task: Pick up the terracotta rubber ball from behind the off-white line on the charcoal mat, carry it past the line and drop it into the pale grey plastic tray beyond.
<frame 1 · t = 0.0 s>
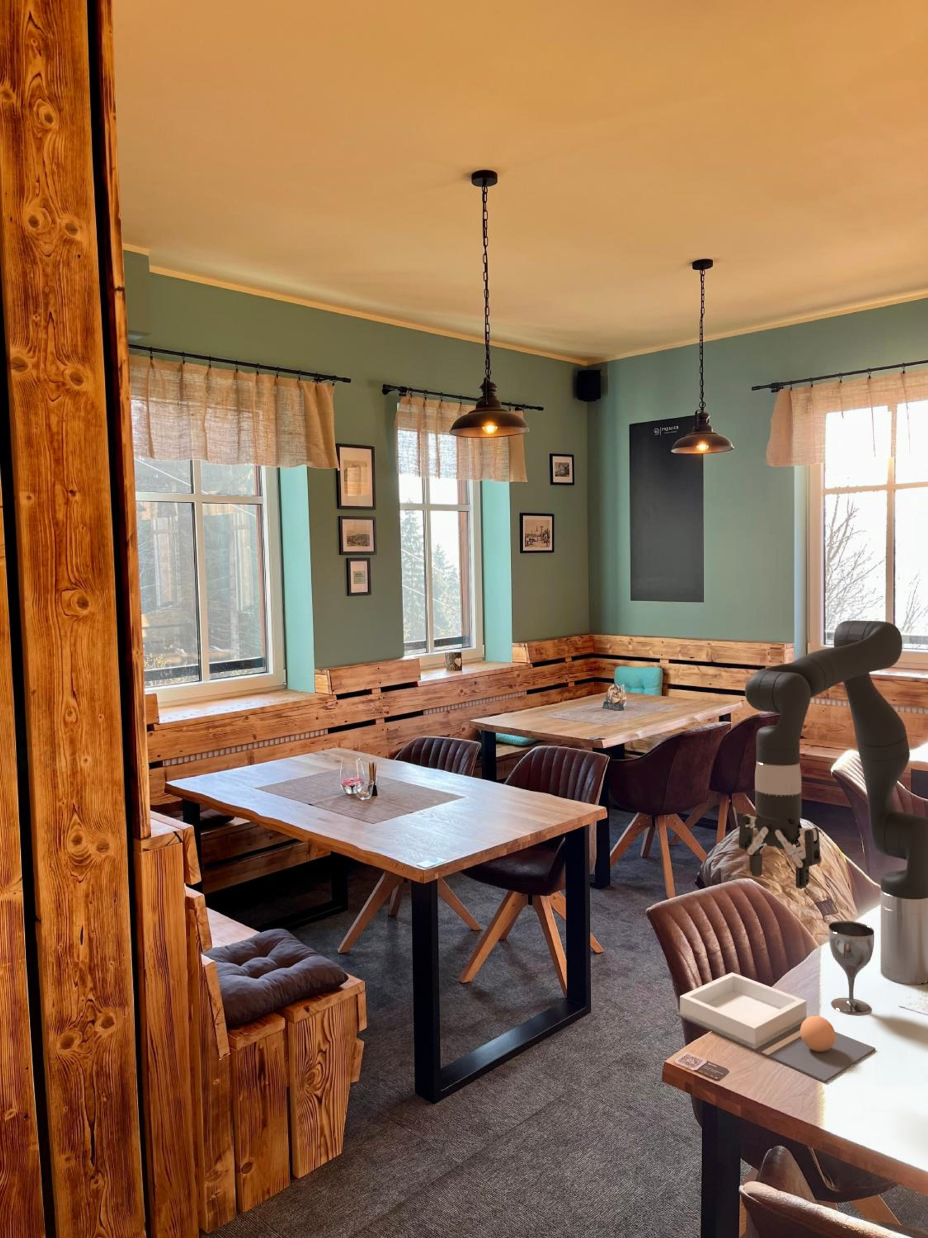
hand: (778, 881, 156), 29 cm above the table, fingers open, 8 cm apart
tray: (742, 1017, 168), resting on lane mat
ball: (817, 1033, 156), point 3 cm above the table, touching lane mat
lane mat: (771, 1032, 163), on the table
wine glass: (851, 1007, 172), on the table
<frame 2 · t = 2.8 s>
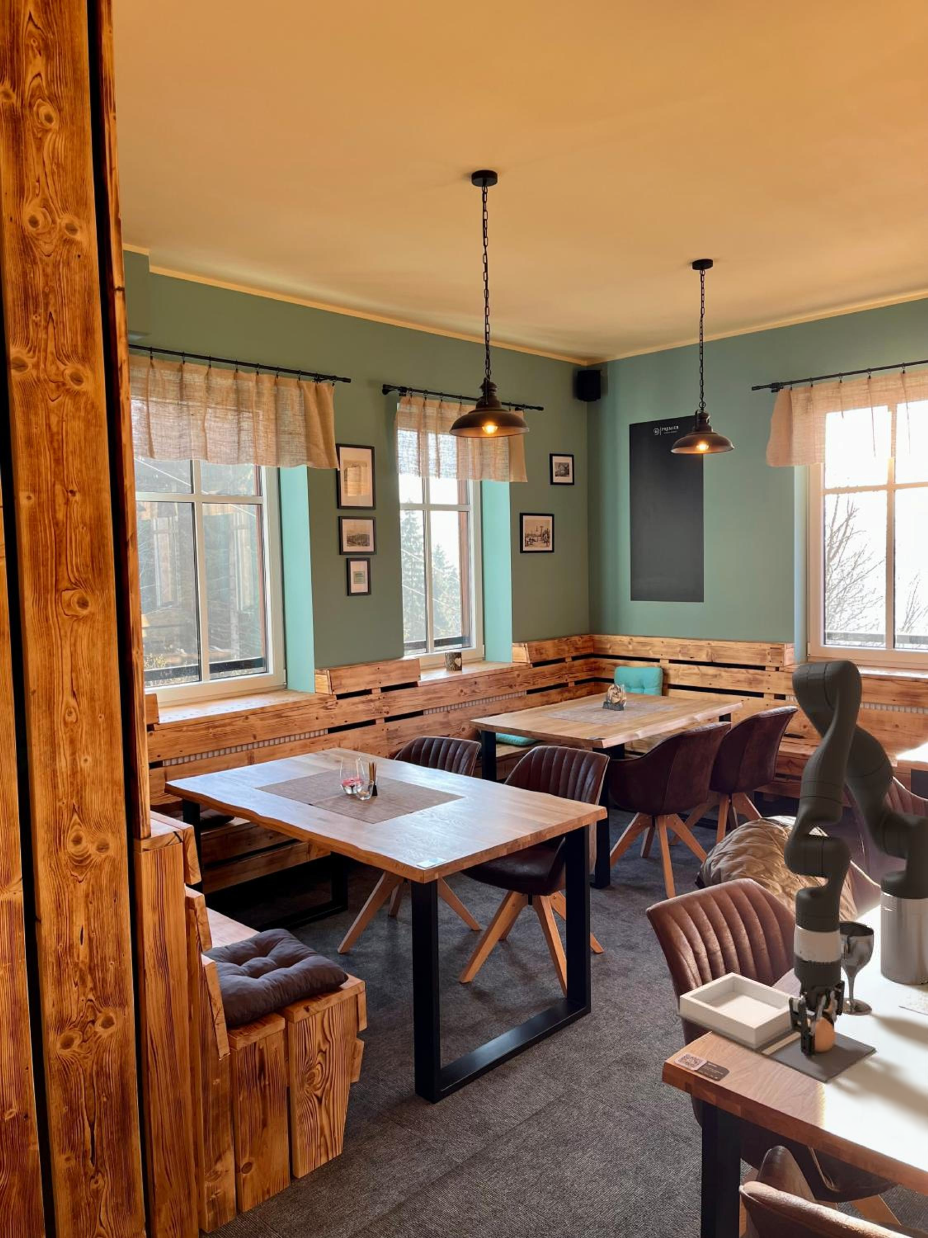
hand: (817, 1048, 156), 1 cm above the table, fingers closed on ball, 5 cm apart
ball: (817, 1033, 156), point 3 cm above the table, touching gripper, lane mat
everything else where it was.
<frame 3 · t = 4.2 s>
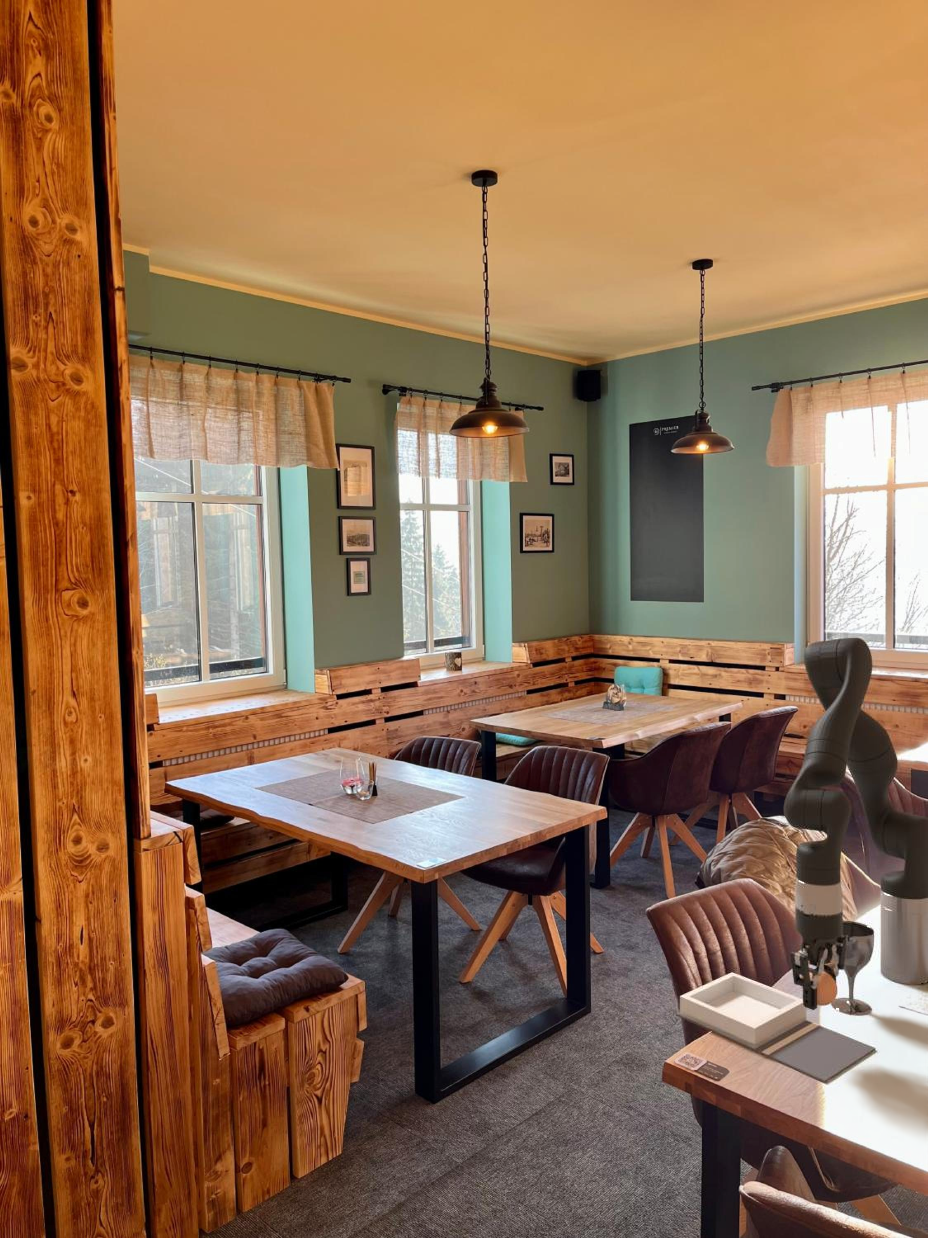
hand: (819, 1002, 155), 9 cm above the table, fingers closed on ball, 5 cm apart
ball: (819, 988, 155), point 11 cm above the table, touching gripper
everything else where it was.
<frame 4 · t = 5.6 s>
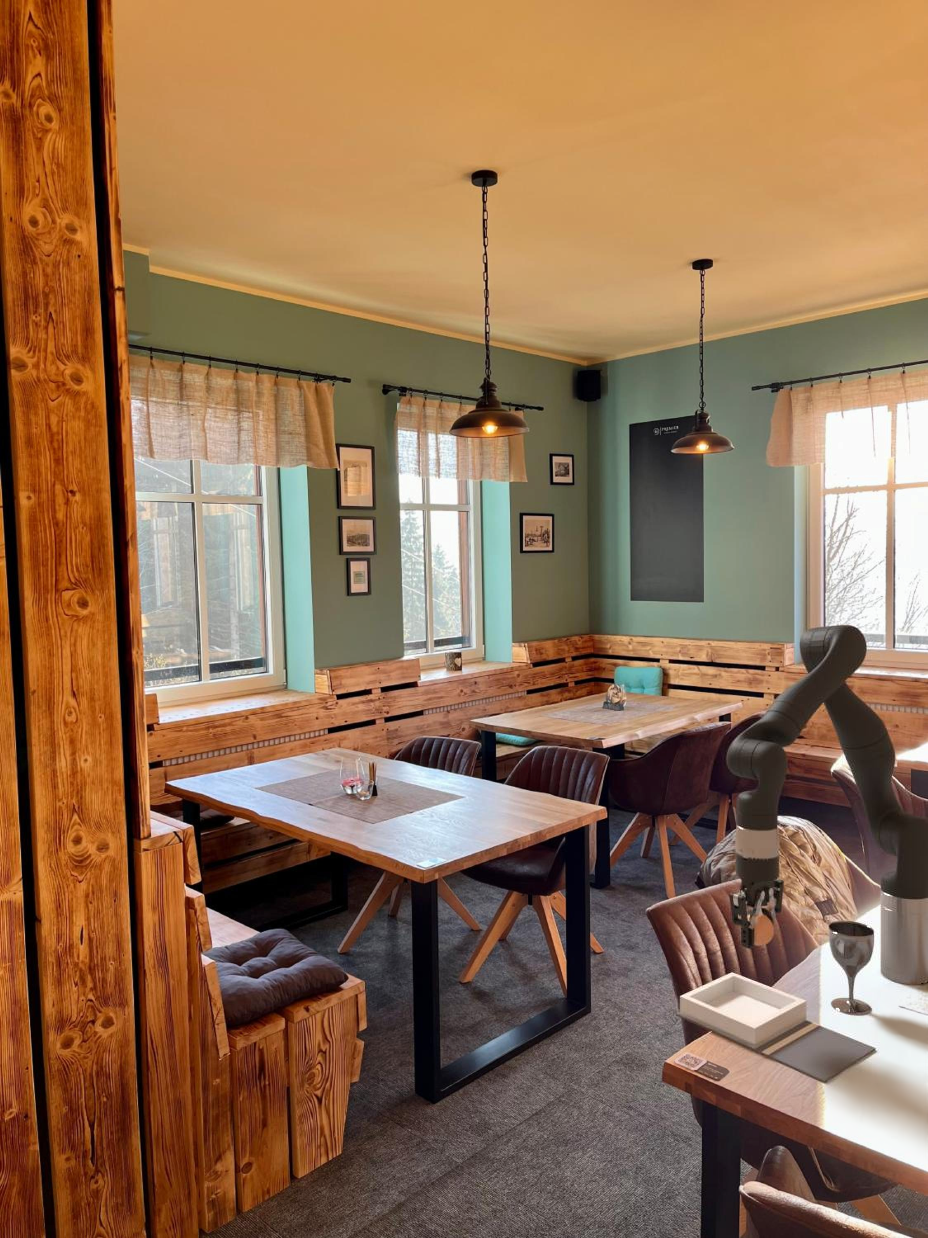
hand: (757, 942, 164), 16 cm above the table, fingers closed on ball, 5 cm apart
ball: (757, 929, 164), point 18 cm above the table, touching gripper
everything else where it was.
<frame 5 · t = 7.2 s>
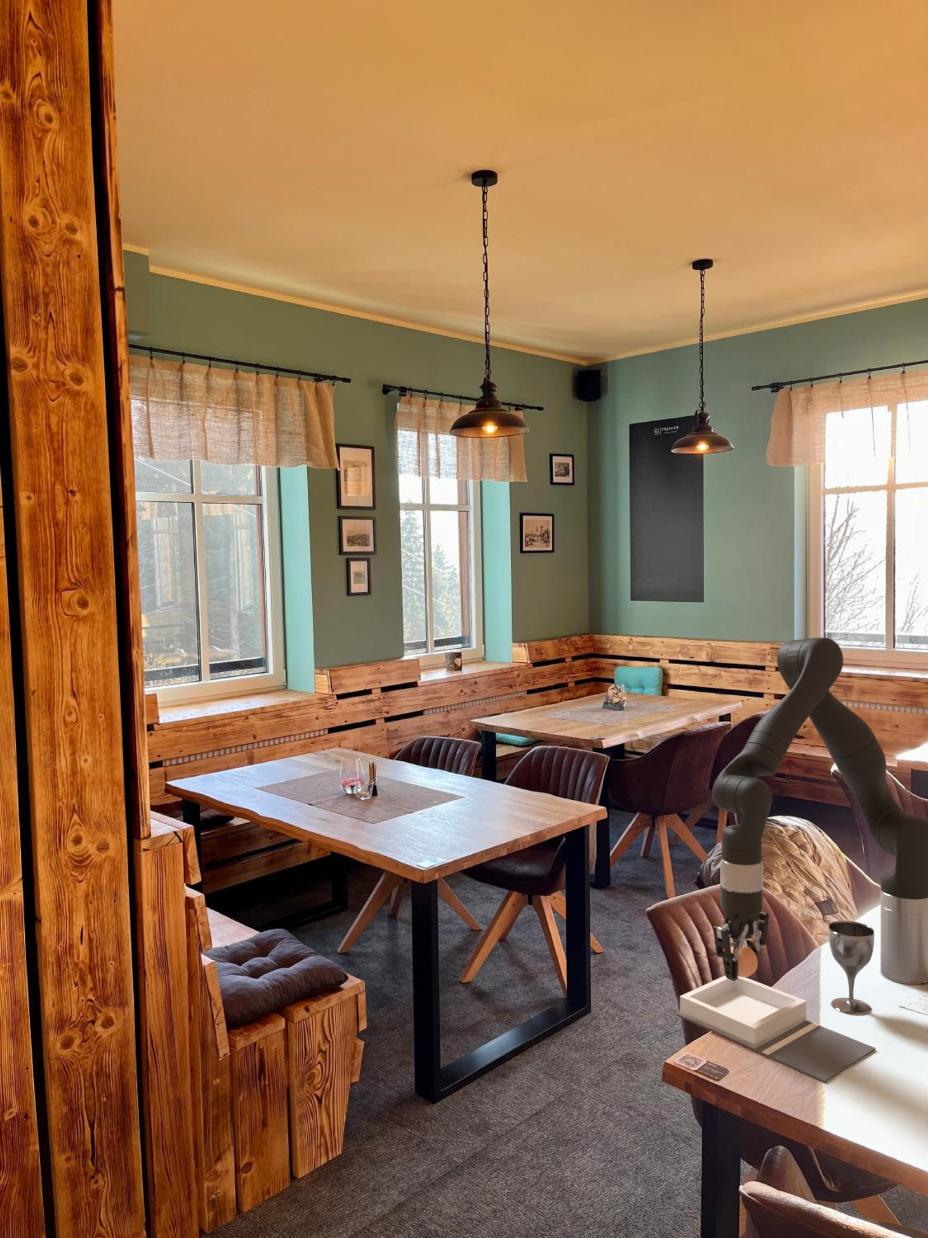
hand: (741, 974, 167), 9 cm above the table, fingers closed on ball, 5 cm apart
ball: (741, 961, 167), point 11 cm above the table, touching gripper
everything else where it was.
when the fingers open (4 cm above the table, at t = 8.6 s): ball drops 2 cm, resting on tray.
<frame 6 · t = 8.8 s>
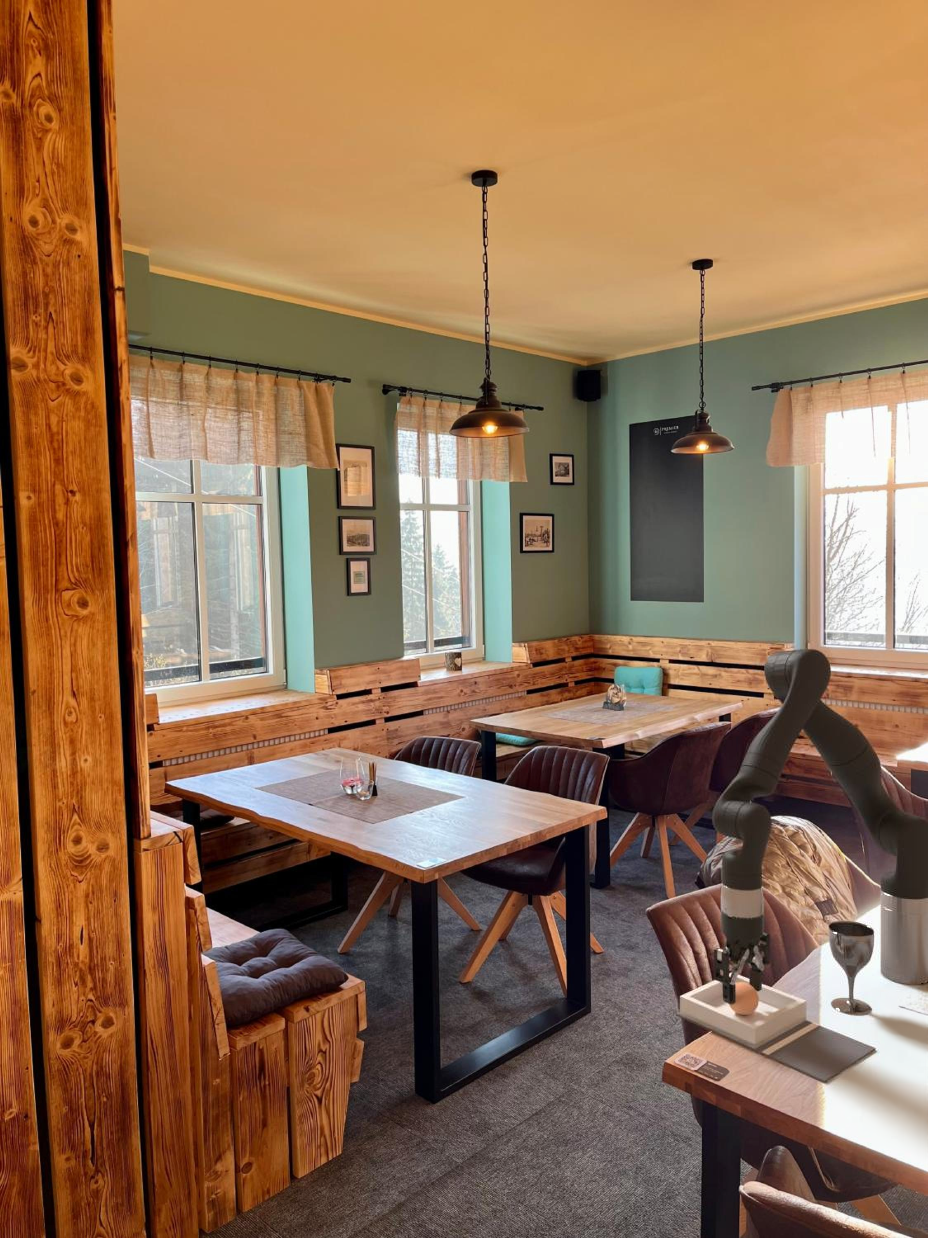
hand: (742, 996, 167), 4 cm above the table, fingers open, 7 cm apart
ball: (742, 998, 167), point 4 cm above the table, touching tray
everything else where it was.
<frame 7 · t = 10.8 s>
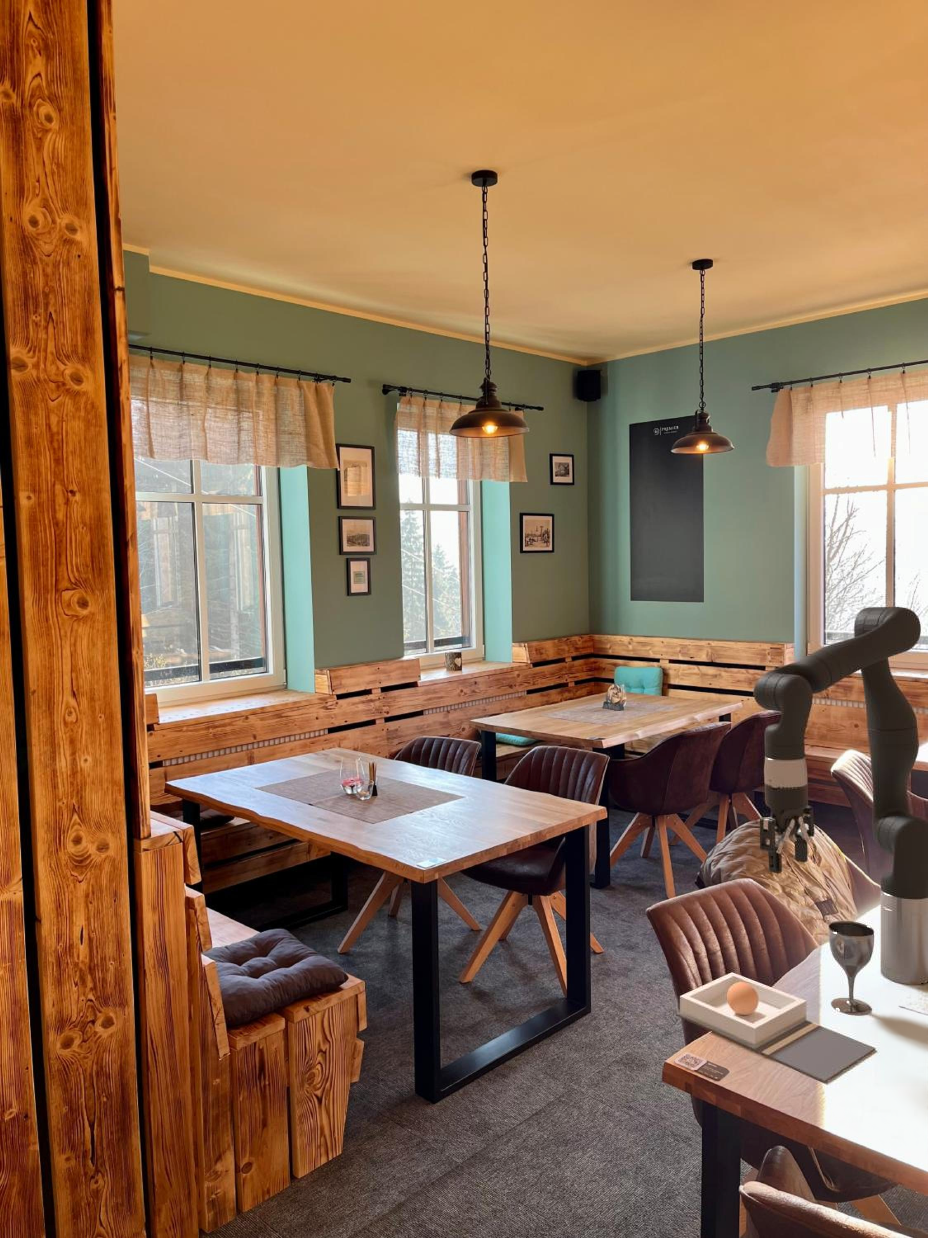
hand: (788, 866, 169), 27 cm above the table, fingers open, 8 cm apart
nothing on the table moved.
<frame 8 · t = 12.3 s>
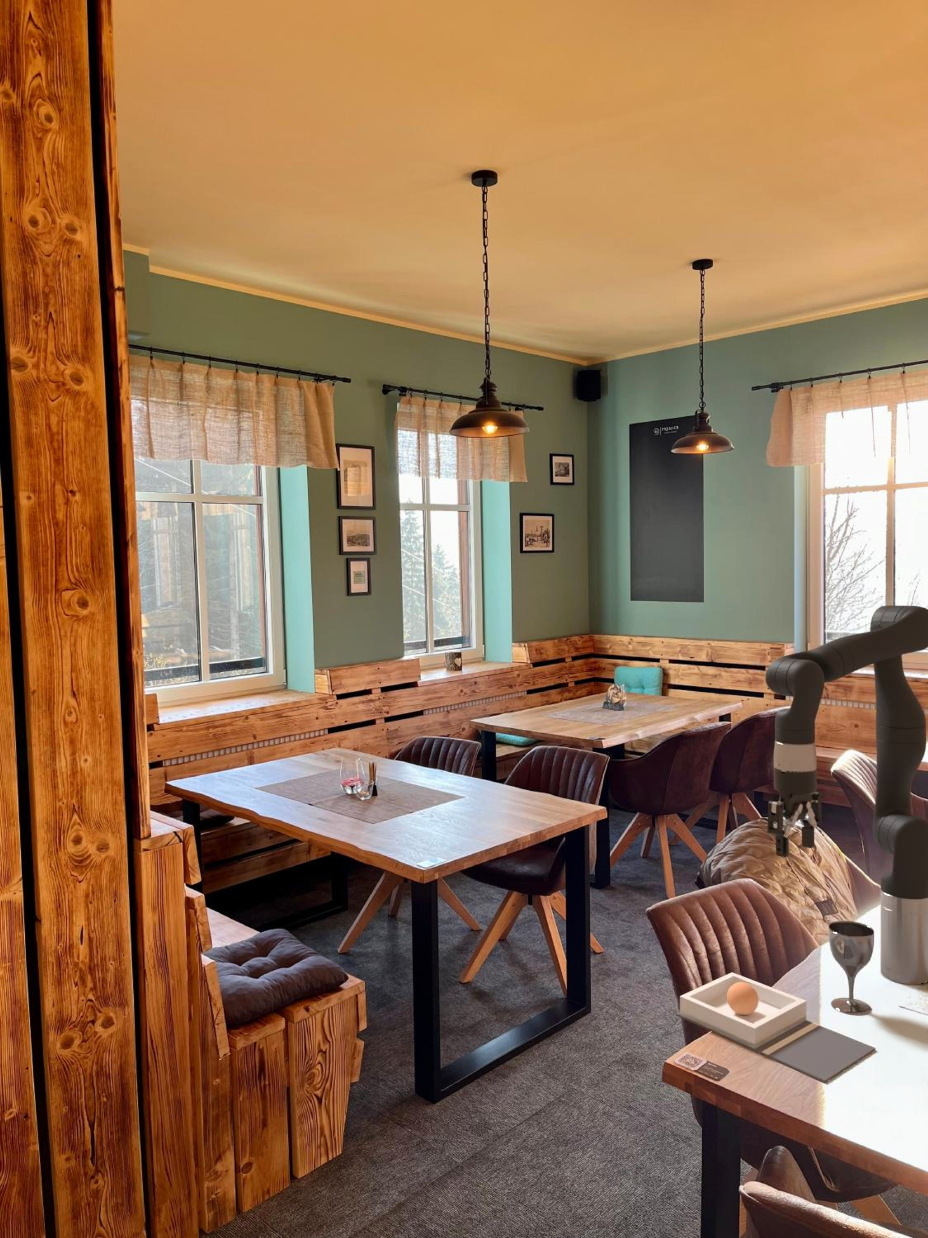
hand: (795, 851, 170), 30 cm above the table, fingers open, 8 cm apart
nothing on the table moved.
at the end: ball inside the target area on the tray (0.0 cm from its centre), point 3.6 cm above the tray's base; ball inside the target area (3.2 cm from its centre), point 4.0 cm above the table; the gripper is holding nothing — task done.
